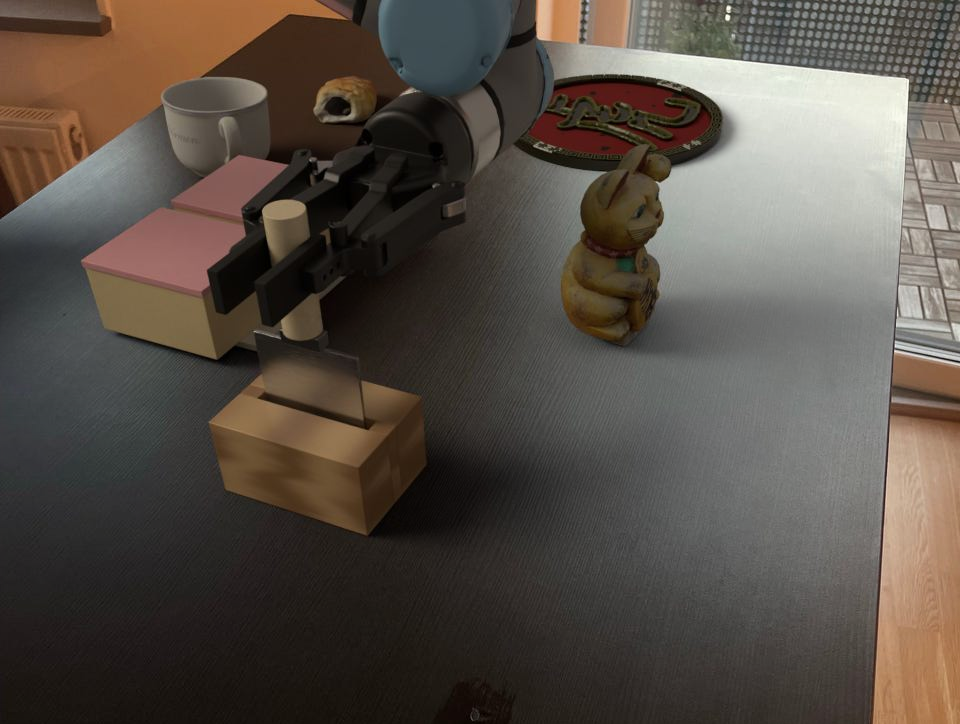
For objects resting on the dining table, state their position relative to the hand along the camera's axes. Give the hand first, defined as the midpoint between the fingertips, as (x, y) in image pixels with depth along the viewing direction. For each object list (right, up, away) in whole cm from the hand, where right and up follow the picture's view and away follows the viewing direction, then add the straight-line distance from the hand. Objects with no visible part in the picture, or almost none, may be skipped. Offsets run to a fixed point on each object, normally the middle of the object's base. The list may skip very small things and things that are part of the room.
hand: (240, 298), depth 60 cm
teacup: (-13, +30, +52) cm, 61 cm away
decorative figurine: (+25, +7, +30) cm, 39 cm away
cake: (-8, +12, +35) cm, 38 cm away
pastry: (-2, +43, +63) cm, 76 cm away
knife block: (+3, -8, +16) cm, 18 cm away
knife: (+3, -6, +14) cm, 15 cm away
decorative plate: (+29, +39, +59) cm, 77 cm away
